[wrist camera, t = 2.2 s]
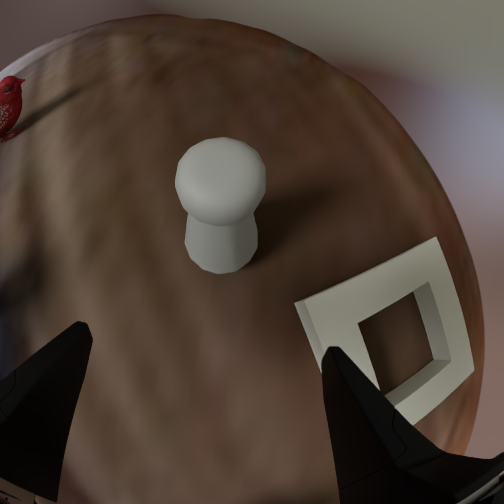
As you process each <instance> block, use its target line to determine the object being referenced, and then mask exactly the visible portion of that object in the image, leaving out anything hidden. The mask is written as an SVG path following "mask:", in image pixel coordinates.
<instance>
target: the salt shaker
mask: <svg viewBox="0 0 504 504" xmlns="http://www.w3.org/2000/svg"><path fill="white" fill-rule="evenodd" d="M265 181H266V173H265V166H264V164H263V162H262V160H261V158H260V156H259V154H258V152H256V151H255V150H254V149H252V148H251V147H250V146H248V145H247V144H245V143H244V142H242V141H238V140H235V139H231V138H227V137H220V138H213V139H206V140H204V141H202V142H200V143H198V144H196V145H194V146H192V147H190V148H189V149H188V151H187V152H186V153H185V154H184V156H183V157H182V158H181V160H180V161H179V163H178V168H177V173H176V178H175V188H176V190H177V193H178V196H179V198H180V201H181V204H182V206H183V208H184V209H185V210H186V211H187V212H188V219H187V226H186V235H185V245H186V248H187V251H188V253H189V256H190V258H191V259H192V260H193V261H194V262H195V263H196V264H197V265H199V266H200V267H201V268H202V269H203V270H206V271H210V272H213V273H216V274H224V273H230V272H235V271H237V270H238V269H240V268H241V267H243V266H244V265H245V264H247V263H248V262H249V261H250V260H251V258H252V256H253V254H254V253H255V251H256V249H257V246H258V231H257V226H256V222H255V218H254V214H253V213H254V211H255V209H256V208H257V206H258V204H259V203H260V201H261V199H262V198H263V196H264V194H265Z"/></svg>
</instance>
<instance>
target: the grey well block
mask: <svg viewBox="0 0 504 504" xmlns="http://www.w3.org/2000/svg"><path fill="white" fill-rule="evenodd" d="M412 291H413V293H414V296H415V298H416V301H417V304H418V307H419V310H420V314H421V317H422V320H423V323H424V326H425V330H426V333H427V337H428V340H429V344H430V348H431V351H432V355H433V359H434V360H433V361H431V362H430V363H429V364H428V365H426V366H425V367H424V368H422V369H421V370H420V371H419V372H417V373H416V374H415V375H413V376H412V377H411V378H409V379H408V380H406V381H405V382H404V383H402V384H401V385H399V386H398V387H397V388H395V389H394V390H392V391H391V392H389V393H388V394H386V395H385V397H386V398H387V399H388V400H389V401H390V402H391V403H392V405H393V406H394V407H395V409H397V410H398V411H399V412H400V413H401V414H402V415H403V416H404V417H405V418H406V419H407V421H408V422H409V423H410V424H412V425H414V424H415V423H417V422H418V421H419V420H420V419H422V418H423V417H424V416H425V415H427V414H428V413H429V412H430V411H432V410H433V409H434V408H435V407H436V406H437V405H439V404H440V403H441V402H442V401H443V400H444V399H445V398H446V397H448V396H449V395H450V394H451V393H452V392H453V391H454V390H455V389H456V388H457V387H458V386H459V385H460V384H461V383H462V382H463V381H464V380H465V379H466V378H467V377H468V376H469V375H470V374H471V373H472V372H473V371H474V364H473V358H472V353H471V348H470V343H469V338H468V334H467V329H466V325H465V321H464V317H463V313H462V310H461V306H460V303H459V299H458V296H457V292H456V289H455V286H454V283H453V280H452V277H451V274H450V271H449V268H448V266H447V263H446V260H445V257H444V255H443V252H442V250H441V247H440V245H439V242H438V240H437V237H434V238H432V239H430V240H427V241H425V242H423V243H421V244H419V245H417V246H415V247H413V248H411V249H409V250H407V251H405V252H404V253H402V254H400V255H398V256H396V257H394V258H392V259H390V260H388V261H386V262H384V263H382V264H379V265H377V266H375V267H373V268H371V269H369V270H367V271H365V272H363V273H361V274H359V275H356V276H354V277H352V278H350V279H348V280H346V281H343V282H341V283H339V284H337V285H335V286H332V287H330V288H328V289H326V290H323V291H321V292H319V293H317V294H314V295H312V296H310V297H307V298H305V299H303V300H300V301H298V302H295V303H294V304H295V307H296V309H297V312H298V314H299V317H300V319H301V322H302V324H303V327H304V329H305V332H306V335H307V337H308V340H309V342H310V345H311V347H312V350H313V353H314V355H315V358H316V360H317V363H318V366H319V368H320V371H321V361H322V358H323V356H324V354H325V352H326V350H327V348H328V347H329V346H339V347H340V348H341V349H342V350H343V351H344V352H345V353H346V354H347V355H348V356H349V357H350V359H351V360H352V361H353V362H354V363H355V364H356V365H357V366H358V367H359V368H360V369H361V371H362V372H363V373H364V374H365V375H366V376H367V377H368V378H369V379H370V380H371V382H372V383H373V384H374V385H375V386H376V387H377V388H378V389H379V385H378V382H377V379H376V376H375V373H374V370H373V367H372V364H371V361H370V358H369V355H368V352H367V349H366V346H365V343H364V340H363V337H362V335H361V332H360V329H359V326H358V324H357V323H359V322H361V321H362V320H364V319H366V318H368V317H370V316H372V315H373V314H375V313H377V312H379V311H380V310H382V309H384V308H386V307H387V306H389V305H391V304H393V303H394V302H396V301H398V300H399V299H401V298H403V297H404V296H406V295H407V294H409V293H411V292H412ZM321 374H322V371H321ZM379 390H380V389H379Z"/></svg>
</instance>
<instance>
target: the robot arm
mask: <svg viewBox="0 0 504 504" xmlns="http://www.w3.org/2000/svg"><path fill="white" fill-rule="evenodd" d="M92 343H93V338H92V335H91V332H90V330H89V327H88V324H87V323H85V322H81V321H77V322H75V323H74V324H72V325H71V326H70V327H68V328H67V329H66V330H64V331H63V332H62V333H60V334H59V335H58V336H57V337H55V338H54V339H53V340H51V341H50V342H49V343H47V344H46V345H45V346H44V347H42V348H41V349H40V350H38V351H37V352H36V353H35V354H33V355H32V356H31V357H30V358H28V359H27V360H26V361H25V362H23V363H22V364H21V365H20V366H18V367H17V368H16V369H15V370H13V371H12V372H11V373H10V374H9V375H7V376H6V377H5V378H4V379H2V380H1V381H0V504H37V503H36V501H35V496H36V495H38V496H40V497H43V498H45V499H48V500H50V501H53V502H57V497H58V490H59V483H60V476H61V470H62V465H63V462H62V461H63V459H64V453H65V449H66V444H67V439H68V435H69V431H70V427H71V423H72V419H73V415H74V411H75V408H76V404H77V401H78V397H79V394H80V391H81V387H82V384H83V381H84V377H85V374H86V369H87V365H88V360H89V356H90V351H91V347H92ZM321 371H322V384H323V398H324V405H325V411H326V416H327V421H328V427H329V433H330V439H331V445H332V451H333V457H334V463H335V470H336V476H337V483H338V490H339V498H340V504H504V474H502V475H500V476H499V477H498V475H499V474H500V473H501V472H502V471H504V452H502V453H500V454H499V455H497V456H496V457H495V458H492V459H480V458H473V457H467V456H462V455H456V454H451V453H447V452H445V451H443V450H441V449H439V448H438V447H437V446H435V445H434V444H433V443H432V442H431V441H430V440H428V439H427V438H426V437H425V436H424V435H423V434H421V433H420V432H419V431H418V430H417V429H416V428H415V427H414V426H413V425H412V424H410V423H409V422H408V421H407V419H406V418H405V417H404V416H403V415H402V414H401V413H400V412H399V411H398V410H397V409H395V407H394V406H393V405H392V403H391V402H390V401H389V400H388V399H387V398H386V397H385V396H384V395H383V394H382V392H381V391H380V390H379V389H378V388H377V387H376V386H375V385H374V384H373V383H372V382H371V380H370V379H369V378H368V377H367V376H366V375H365V374H364V373H363V372H362V371H361V369H360V368H359V367H358V366H357V365H356V364H355V363H354V362H353V361H352V360H351V359H350V357H349V356H348V355H347V354H346V353H345V352H344V351H343V350H342V349H341V348H340V347H339V346H329V347H328V348H327V350H326V352H325V354H324V356H323V358H322V361H321Z"/></svg>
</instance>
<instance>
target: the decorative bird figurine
mask: <svg viewBox="0 0 504 504" xmlns="http://www.w3.org/2000/svg"><path fill="white" fill-rule="evenodd" d="M24 81H25V79H18V78H16V77H15V76H7V77H5V78H3V80H2V81H1V82H0V138H3V137H5V138H4V139H3V140H4V141H6V140H8V139H9V138H11V137H13V136H15V135H17V134H18V132H19V131H20V130H21V129H23V128H24V127H26V126H24V127H22V128H21V129H19V130H15V131H14V132H12V133H8V134H6V133H7V132H8V131H9V130H11V129H12V127H13V126H14V125H15V123H16V122H17V120H18V118H19V116H20V113H21V110H22V95H21V93H22V89H21V84H22V82H24ZM5 139H6V140H5ZM3 140H2V141H1V143H2V142H3Z"/></svg>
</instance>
